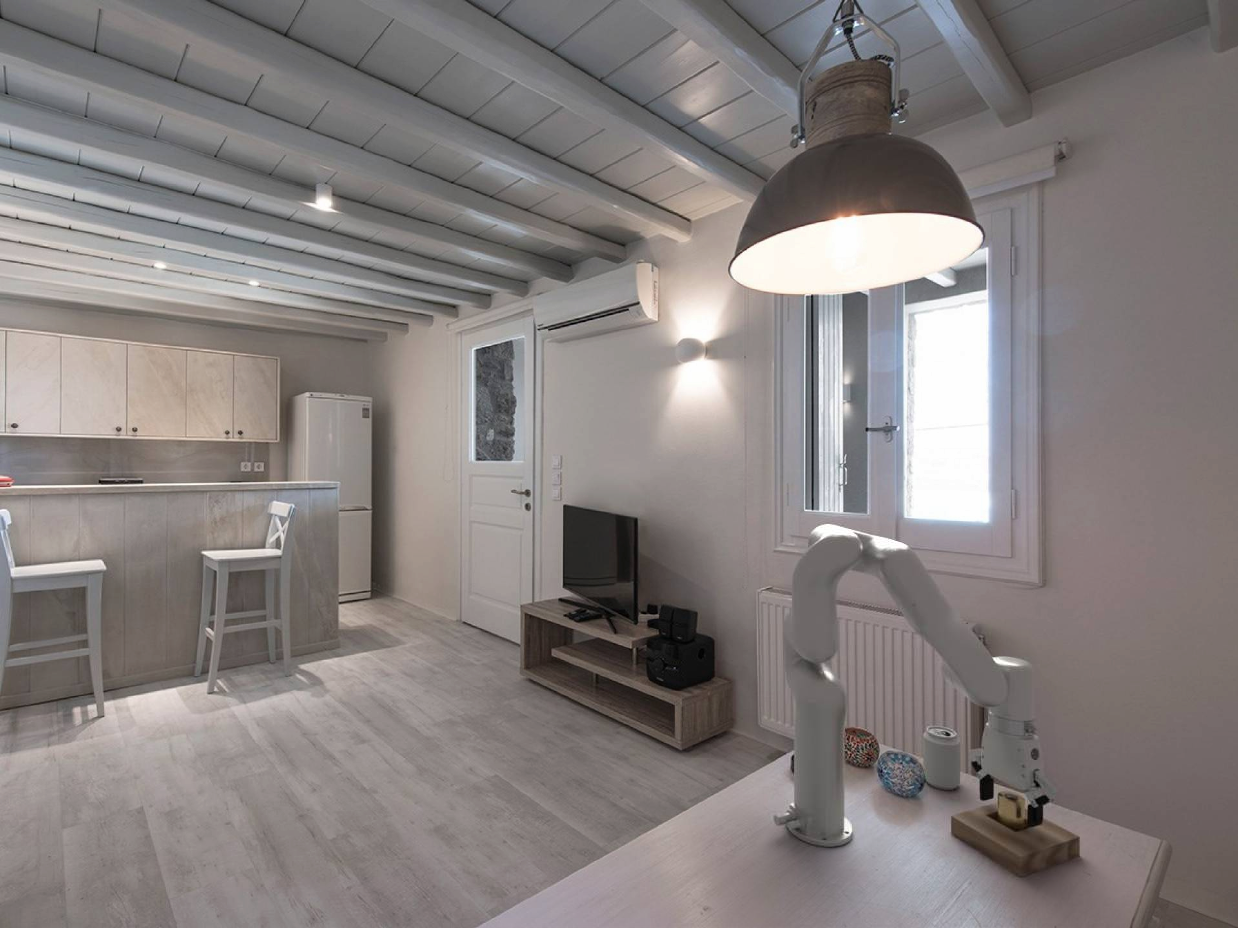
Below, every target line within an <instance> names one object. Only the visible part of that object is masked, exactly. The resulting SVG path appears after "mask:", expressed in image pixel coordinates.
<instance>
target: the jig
mask: <svg viewBox="0 0 1238 928" xmlns="http://www.w3.org/2000/svg"><path fill="white" fill-rule="evenodd" d="M950 833H951V835H953V836H955V837H956V838H957V839H960V841H962V842H964V843H965V844H968V845H969V846H970V847H972V848H973V849H975V850H977V851H979V852H980V853H982V854H983V855H985V856H986V857H988V858H990V859H991V860H992V861H995V862H997V864H998V865H999V864H1000V865H1001V866H1002V867H1004V868H1005V869H1007V870H1009V871H1011V872H1012V873H1014V874H1015V875H1017V876H1018V877H1020V878H1022V877H1026V876H1027V875H1030V874H1033V873H1036V872H1039V871H1042V870H1044V869H1046V868H1050V867H1052V866H1055V865H1058V864H1061V863H1064V862H1066V861H1069V860H1071V859H1075V858H1077V857H1080V856H1081V853H1080V849H1081V847H1080V846H1081V845H1080V843H1081V841H1080V840H1081V839H1080V836H1079V835H1077V834H1075V833H1073V832H1071V831H1069V830H1068V829H1065V828H1064V827H1061V825H1060V826H1059V825H1058V824H1056V823H1055V822H1052V821H1050V820H1048V819H1046V818H1044V817H1043V822H1042V824H1041V825H1038V826H1035V827H1030V826H1028V824H1027V809H1026V808H1025V830H1021V831H1018V832H1014V831H1013V830H1011V829H1009V828H1007V827H1006V826H1004V825H1002V824H1000V823H998V801H997V802H994V803H990V804H987V805H983V806H980V807H976V808H973V809H970V810H966V811H962V812H959V813H955V814H953V815H950Z"/></svg>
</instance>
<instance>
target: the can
mask: <svg viewBox="0 0 1238 928" xmlns="http://www.w3.org/2000/svg"><path fill="white" fill-rule="evenodd" d="M923 769H924V773H925V775H926V780H925V781H926V782H927V783H928V784H929V786H932V787H934V788H936V789H940V790H945V791H949V790H955V789H956V788H957V787H959V786H961V785H960V784H961V740H960V738H959V737H958V735H957V732H956V731H955V730H953V729H951V728H949V727H945V726H941V725H930V726H927V727H926V728H925V731H924V733H923V734H922V770H923Z"/></svg>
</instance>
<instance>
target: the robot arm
mask: <svg viewBox="0 0 1238 928" xmlns="http://www.w3.org/2000/svg"><path fill="white" fill-rule="evenodd" d="M807 548H808V549H807V550H806V551H805V552H804V553H803V555H802V556H801V557H800V559H799V560H798V562H797V564H796V566H795V568H794V570H793V574H792V581H791V610H790V611H789V612H788V613H787V614H786V617H785V619H784V622H783V626H782V627H783V628H782V630H783V631H782V637H783V653H784V655H783V656H784V667H785V669H784V670H785V671H784V672H785V679H786V683H787V686H788V689H789V690H790V692H791V694H792V696H793V698H794V702H795V717H794V725H793V727H794V728H793V729H794V730H793V731H794V732H793V747H794V748H793V753H794V754H793V765H794V766H793V767H794V768H793V769H794V770H793V778H794V779H793V782H794V783H793V789H794V790H793V796H794V797H793V802H791V803H789V809H787V810H786V812H785V813H778V814H775V815H774V816H773V822H774V824H775V825H776V827H779V826H785V825H786V827H787V828H788V831H789V832H790V833H791V834H792V835H793V836H794V837H796V838H798V839H800V840H801V841H802V842H806V843H808V844H810V845H813V846H818V847H827V848H828V847H834V848H835V847H839V846H843V845H846V844H847V843H848V842H850V841H851V840H852V839H853V835H854V834H853V833H854V829H853V828H854V827H853V825H852V823H851V822H850V820H849V819H847V817H845V734H846V733H845V732H846V731H845V729H846V720H847V714H848V698H847V692H846V688H845V687H844V686H843V683H842V682H841V680H840V679H839V677H838V676H837V675H836V674H835V672H834V671H833V670H832V669H831V661H832V660H833V659H834V657H835V656H836V654H837V653H838V651H839V647H840V634H839V633H840V632H839V626H838V625H839V624H838V609H837V591H838V585H839V583H840V581H841V580H842V578H843V576H845V574H846V573H848V572H849V571H852V572H856V573H862V574H865V575H869V576H873V577H875V578H876V579H878V580H879V582H880V583H881V584H882V585H883V587H884V589H885V590H886V591H887V593H888V594H889V595H890V597H891V599H892V600H893V601H894V603H895V604H896V606H897V607H898V609H899V611H900V613H901V614H902V615H903V617H904V619H905V620H906V622H907V623H908V624H909V626H910V627H911V628H912V629H913V630H914V631H915V633H916V634H917V635H918V636H919V637H920V638H922V640H923V641H925V642H926V643H927V644H928V645H930V647H931V648H932V649H934V651H935V652H936V653H937V654H938V655H939V656H940V657H941V659H942V660H943V661H942V663H941V666H940V668H941V674H942V676H943V678H944V680H945V681H946V682H947V684H949V685H950V686H951V687H952V688H953V689H955V690H956V691H957V692H958V693H960V694H962V695H963V696H964V697H965V698H966V699H968V700H969V701H970V702H972V703H973V704H975V705H976V706H979V707H982V708H987V709H988V711H987V714H988V715H987V722H986V723H985V725H984V730H983V734H982V740H981V748H974V749H969V750H968V751H967V753H968V755H969V759H970V761H971V766H972V768H973V769H974V770H975V772H976V778H977V779H979V790H978V791H979V800H980V801H983V802H984V801H985V802H986V801H988V800H992V799H994V797H995V795H994V794H995V792H994V791H995V779H996V780H999V781H1000V782H1002V783H1005V784H1007V785H1008V786H1011V787H1012V788H1015V789H1016V790H1019V791H1022V792H1024V795H1025V796H1026V798H1027V799H1028V801H1029V803H1028V804H1027V807H1026V808H1027V824H1028V826H1030V827H1035V826H1038V825H1041V824H1042V822H1043V818H1044V806H1046V805H1047V804H1050V802H1051V803H1052V802H1053V801H1054V799H1055V797H1056V796H1057V795H1058V793H1059V790H1058V788H1057V787H1056V786H1055V785H1054V784H1053V783H1052V782H1051V781H1050V780H1049V779H1048V778H1047V777H1046V776H1045V771H1044V769H1045V768H1044V759H1043V752H1042V748H1041V743H1040V739H1039V736H1038V735H1039V734H1040V731H1041V730H1040V728H1039V727H1037V726H1036V725H1035V669H1034V666H1033V665H1032V664H1031V663H1030V662H1029V661H1026V660H1025V659H1021V658H1018V657H1013V656H1005V655H1004V656H995V657H993V656H992V655H991V653H990V651H989V650H988V649H987V648H986V646H985V645H984V644H983V642H982V641H981V640H980V638H979V637H978V636H977V635H976V634H975V633H974V632H973V630H972V629H971V628H970V627H969V626H968V624H967V623H966V622H965V620H964V619H963V618H962V617H961V615H960V614H959V613H958V612H957V611H956V610H955V608H954V607H952V605H951V603H950V602H949V601H948V599H947V598H946V596H945V594H944V593H943V592H942V591H941V589H940V587H939V586H938V585H937V584H936V582H935V580H934V578H933V577H932V576H931V574H930V573H929V571H928V570H927V568H926V567H925V565H924V563H923V562H922V560H921V559H920V558H919V556H918V555H917V553H916V552H915V551H914V550H913V549H912V548H911V547H910V546H909V545H908V544H905V543H903V542H900V541H897V540H894V539H890V538H887V537H882V536H878V535H874V534H873V535H872V534H869V533H865V532H862V531H858V530H853V529H850V528H846V527H842V526H839V525H835V524H830V523H829V524H821V525H819V526H816V528H814V529H813V530H812V531H811V533H810V534H809V536H808V539H807ZM1041 789H1043V790H1044V793H1042V791H1041Z"/></svg>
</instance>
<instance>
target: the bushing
mask: <svg viewBox="0 0 1238 928" xmlns="http://www.w3.org/2000/svg"><path fill="white" fill-rule="evenodd" d="M997 802H998V823H1000V824H1002V825H1004V826H1006V827H1007V828H1009V829H1011V830H1013V831H1014V832H1018V831H1021V830H1025V809H1026V799H1025V797H1023V796H1021V795H1020V794H1019V793H1018V794H1017V793H1016V792H1014V791H1013V792H1012V791H1007V790H1001V791H998V793H997Z"/></svg>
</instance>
